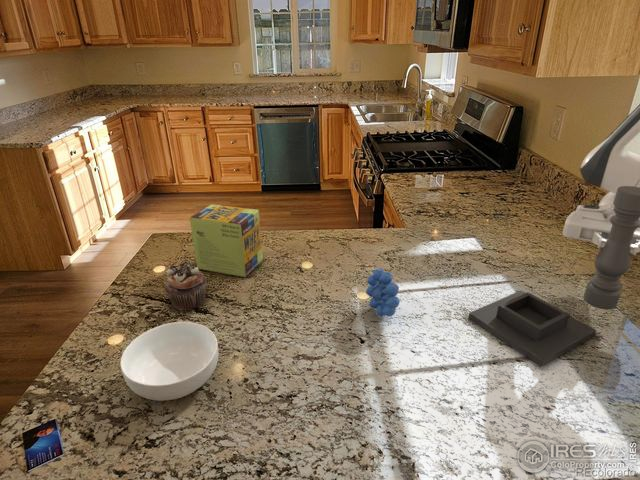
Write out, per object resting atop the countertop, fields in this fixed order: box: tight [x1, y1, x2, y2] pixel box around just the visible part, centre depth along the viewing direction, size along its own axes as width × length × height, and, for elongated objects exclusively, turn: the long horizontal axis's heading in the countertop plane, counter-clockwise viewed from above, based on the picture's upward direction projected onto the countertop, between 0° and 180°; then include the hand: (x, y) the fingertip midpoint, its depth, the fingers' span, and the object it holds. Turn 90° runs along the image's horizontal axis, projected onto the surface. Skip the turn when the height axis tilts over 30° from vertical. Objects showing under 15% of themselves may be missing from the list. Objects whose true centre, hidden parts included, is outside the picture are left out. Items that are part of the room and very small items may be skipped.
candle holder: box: [582, 186, 640, 311], centre depth 86 cm, size 6×6×25 cm
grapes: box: [365, 268, 401, 318], centre depth 94 cm, size 12×7×12 cm, turn 24°
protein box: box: [189, 204, 264, 278], centre depth 116 cm, size 10×15×16 cm
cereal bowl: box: [119, 321, 220, 402], centre depth 78 cm, size 17×17×7 cm
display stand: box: [468, 289, 597, 367], centre depth 91 cm, size 18×18×4 cm
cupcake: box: [163, 261, 207, 311], centre depth 101 cm, size 10×10×10 cm
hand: (616, 248), depth 85 cm, fingers closed on candle holder, 4 cm apart
